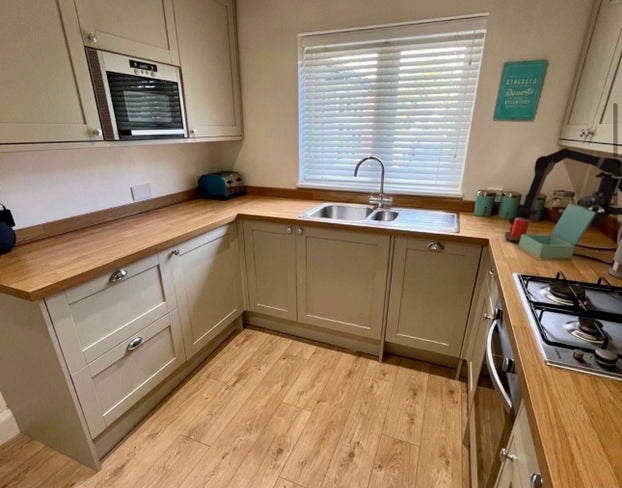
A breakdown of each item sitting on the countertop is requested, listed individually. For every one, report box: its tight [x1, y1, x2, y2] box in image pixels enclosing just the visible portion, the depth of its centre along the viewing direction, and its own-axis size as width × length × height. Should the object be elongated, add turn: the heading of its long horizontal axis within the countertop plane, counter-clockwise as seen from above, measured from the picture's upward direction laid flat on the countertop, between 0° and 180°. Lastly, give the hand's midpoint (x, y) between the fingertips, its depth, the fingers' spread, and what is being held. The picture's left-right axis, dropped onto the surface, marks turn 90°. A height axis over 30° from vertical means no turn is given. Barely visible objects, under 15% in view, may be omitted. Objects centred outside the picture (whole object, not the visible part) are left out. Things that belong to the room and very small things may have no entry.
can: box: [511, 218, 531, 238], centre depth 155 cm, size 6×6×8 cm
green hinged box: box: [518, 233, 576, 259], centre depth 144 cm, size 14×15×6 cm
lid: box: [550, 203, 597, 246], centre depth 140 cm, size 14×15×1 cm
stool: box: [503, 232, 521, 245], centre depth 158 cm, size 9×9×4 cm
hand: (593, 226), depth 141 cm, fingers closed
